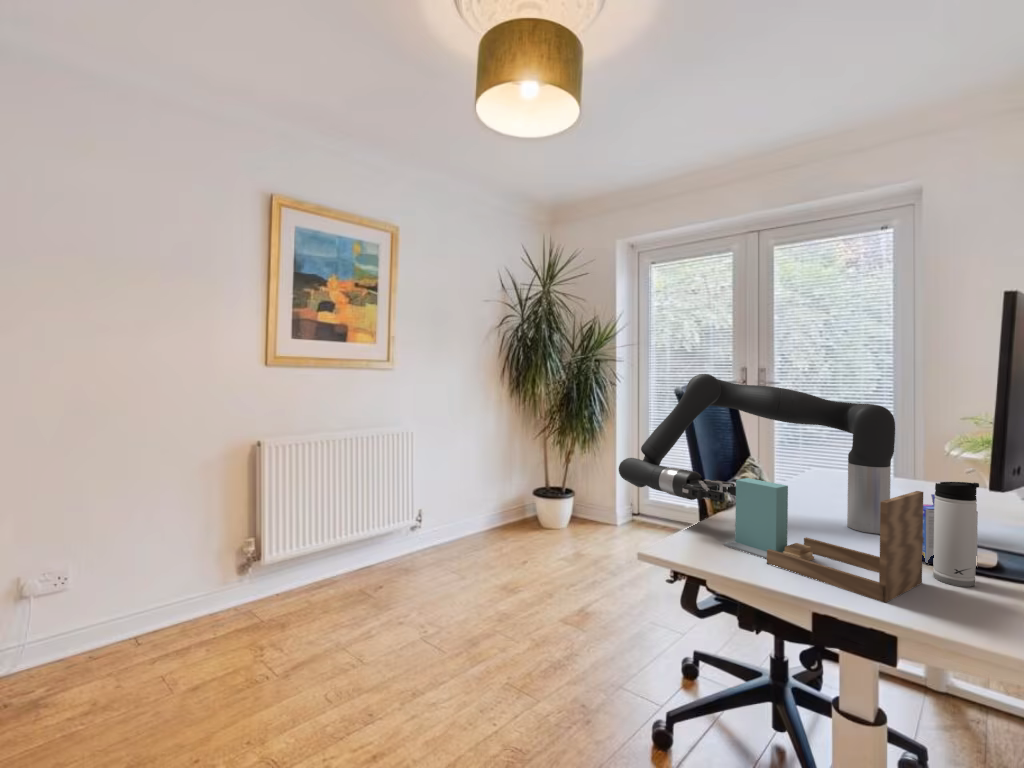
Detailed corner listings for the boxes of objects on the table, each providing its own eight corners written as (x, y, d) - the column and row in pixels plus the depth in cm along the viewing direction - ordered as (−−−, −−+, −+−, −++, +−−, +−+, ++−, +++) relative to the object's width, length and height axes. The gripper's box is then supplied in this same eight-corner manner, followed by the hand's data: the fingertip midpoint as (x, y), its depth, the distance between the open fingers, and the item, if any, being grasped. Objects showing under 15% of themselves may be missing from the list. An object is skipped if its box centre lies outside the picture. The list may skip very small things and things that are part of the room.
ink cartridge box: (961, 559, 111) (962, 494, 111) (979, 569, 106) (980, 500, 105) (911, 556, 113) (912, 492, 113) (926, 565, 108) (927, 498, 107)
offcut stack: (795, 555, 114) (796, 542, 114) (814, 560, 111) (814, 547, 111) (781, 560, 111) (781, 546, 111) (799, 566, 108) (799, 552, 108)
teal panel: (746, 538, 123) (747, 478, 123) (787, 550, 115) (787, 485, 114) (735, 541, 121) (735, 479, 121) (775, 554, 112) (776, 487, 112)
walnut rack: (806, 550, 117) (807, 473, 116) (921, 583, 98) (923, 491, 98) (766, 563, 108) (767, 480, 108) (885, 602, 89) (886, 502, 89)
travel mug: (968, 590, 95) (970, 485, 95) (926, 578, 101) (928, 478, 100) (983, 584, 98) (985, 482, 97) (942, 572, 104) (943, 476, 103)
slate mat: (751, 537, 125) (751, 535, 125) (800, 552, 115) (800, 550, 115) (724, 545, 120) (724, 543, 120) (773, 561, 109) (773, 559, 109)
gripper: (663, 471, 133) (717, 483, 119) (697, 466, 140) (751, 477, 127) (662, 499, 133) (716, 514, 119) (696, 493, 141) (751, 506, 127)
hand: (734, 495), depth 123 cm, fingers open, 8 cm apart
